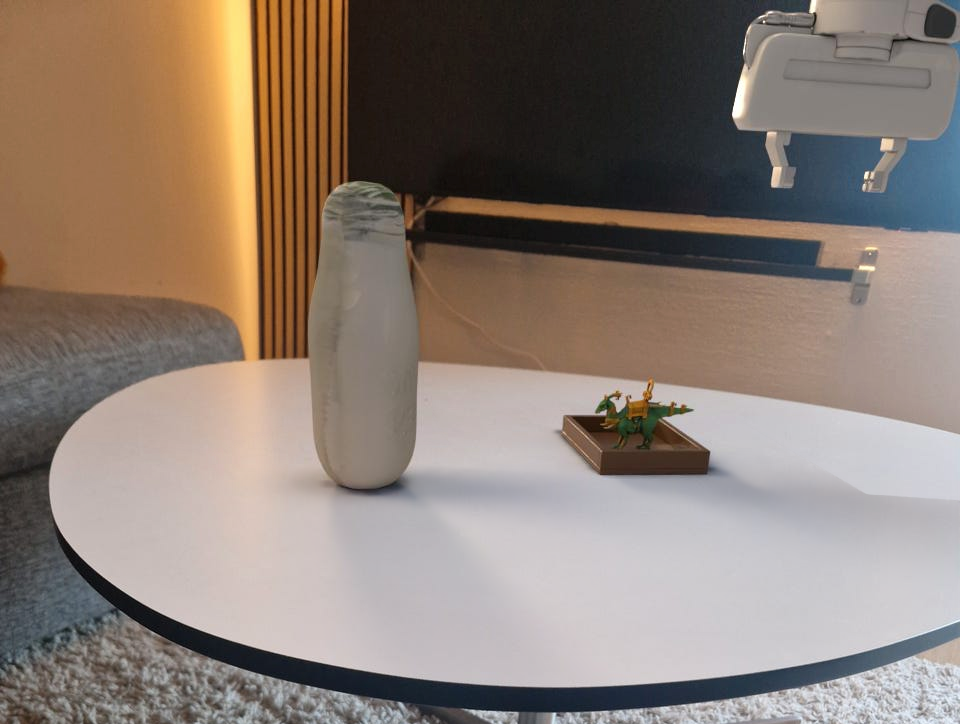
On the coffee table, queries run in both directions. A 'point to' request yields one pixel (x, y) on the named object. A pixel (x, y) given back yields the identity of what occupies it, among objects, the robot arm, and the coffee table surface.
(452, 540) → the coffee table surface
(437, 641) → the coffee table surface
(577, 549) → the coffee table surface
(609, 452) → the walnut tray
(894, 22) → the robot arm
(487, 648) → the coffee table surface
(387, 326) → the grey tall rounded cylinder
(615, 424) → the figurine
